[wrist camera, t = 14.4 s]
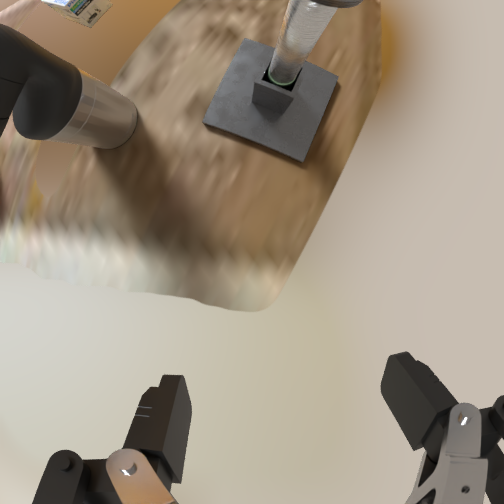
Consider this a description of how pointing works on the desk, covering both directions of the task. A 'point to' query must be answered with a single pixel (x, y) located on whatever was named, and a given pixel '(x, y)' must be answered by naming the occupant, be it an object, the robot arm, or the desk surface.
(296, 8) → the jack column
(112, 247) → the desk surface
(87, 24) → the light bulb box
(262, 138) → the stand
